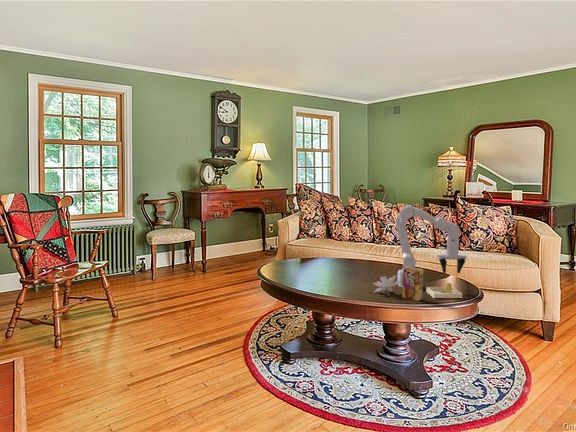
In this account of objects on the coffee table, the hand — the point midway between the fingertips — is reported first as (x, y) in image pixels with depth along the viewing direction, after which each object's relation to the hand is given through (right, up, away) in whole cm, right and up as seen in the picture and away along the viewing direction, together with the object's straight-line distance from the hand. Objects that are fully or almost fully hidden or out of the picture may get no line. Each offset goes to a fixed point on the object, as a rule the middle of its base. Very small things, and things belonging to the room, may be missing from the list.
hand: (451, 272), depth 224 cm
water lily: (-36, -10, -6) cm, 38 cm away
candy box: (-25, -11, -14) cm, 31 cm away
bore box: (-7, -10, -8) cm, 15 cm away
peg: (-5, -10, -8) cm, 14 cm away
